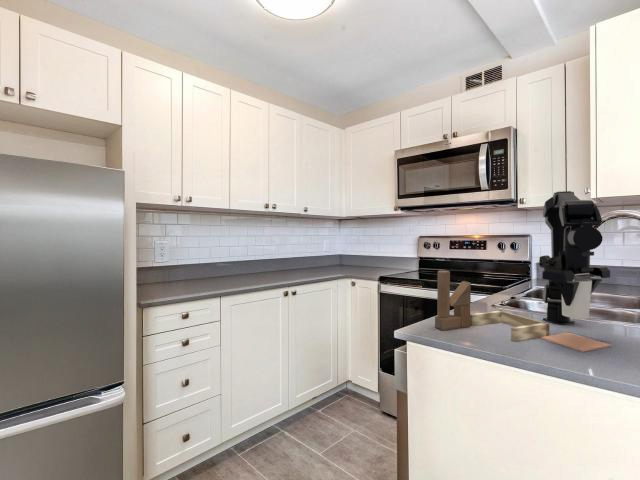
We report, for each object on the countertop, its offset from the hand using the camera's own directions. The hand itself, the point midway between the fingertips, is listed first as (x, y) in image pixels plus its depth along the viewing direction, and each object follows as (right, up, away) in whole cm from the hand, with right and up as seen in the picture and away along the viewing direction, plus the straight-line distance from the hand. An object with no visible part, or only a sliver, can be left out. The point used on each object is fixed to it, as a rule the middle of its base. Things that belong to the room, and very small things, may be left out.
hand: (575, 304), depth 91 cm
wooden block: (-28, -10, +15) cm, 33 cm away
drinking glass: (0, -3, 0) cm, 3 cm away
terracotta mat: (0, -10, 0) cm, 10 cm away
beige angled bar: (-12, -10, +11) cm, 19 cm away
